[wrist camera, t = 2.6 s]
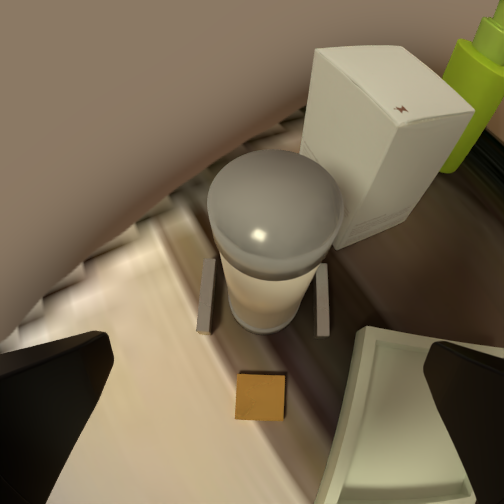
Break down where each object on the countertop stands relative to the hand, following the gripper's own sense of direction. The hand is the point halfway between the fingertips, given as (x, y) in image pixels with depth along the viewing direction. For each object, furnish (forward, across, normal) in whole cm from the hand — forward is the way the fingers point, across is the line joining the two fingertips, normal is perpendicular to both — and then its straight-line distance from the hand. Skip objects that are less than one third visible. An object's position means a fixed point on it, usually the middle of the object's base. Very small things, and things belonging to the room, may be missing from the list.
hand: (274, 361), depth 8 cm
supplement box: (+19, +7, +1) cm, 20 cm away
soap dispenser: (+25, +18, +6) cm, 31 cm away
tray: (+6, +11, -12) cm, 17 cm away
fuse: (+12, 0, -5) cm, 14 cm away
